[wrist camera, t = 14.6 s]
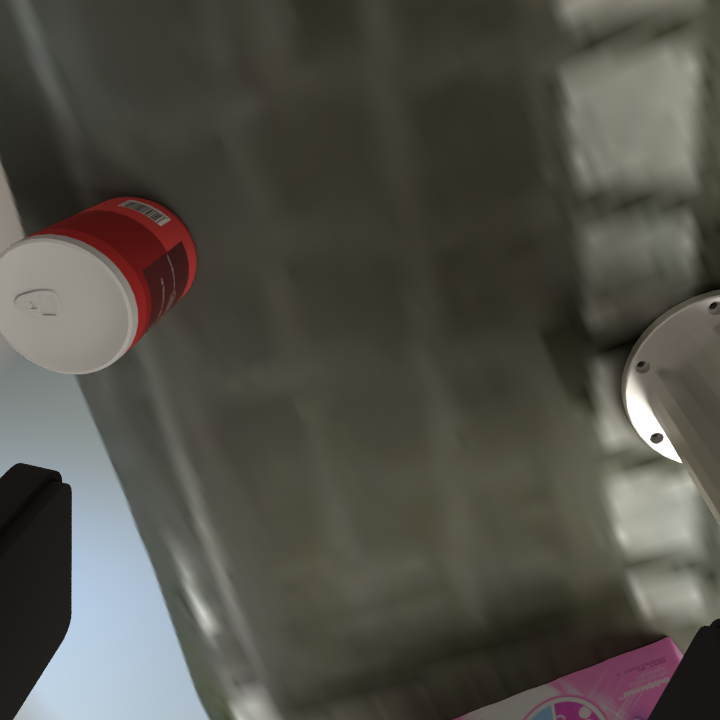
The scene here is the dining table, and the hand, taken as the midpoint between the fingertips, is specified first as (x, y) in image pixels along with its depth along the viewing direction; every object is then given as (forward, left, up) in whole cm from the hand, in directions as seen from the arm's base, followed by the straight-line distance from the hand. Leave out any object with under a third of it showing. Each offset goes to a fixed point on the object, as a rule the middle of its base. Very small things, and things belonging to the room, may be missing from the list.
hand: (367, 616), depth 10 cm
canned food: (+17, +8, -34) cm, 39 cm away
